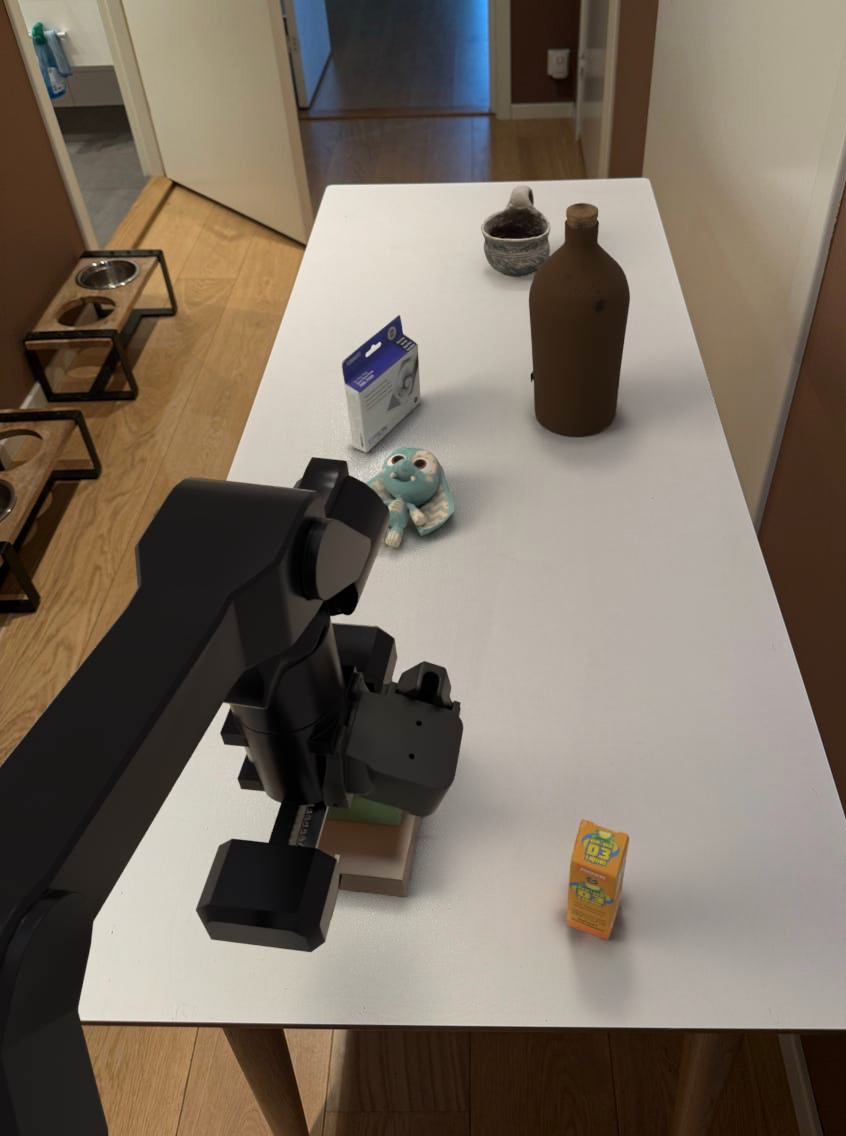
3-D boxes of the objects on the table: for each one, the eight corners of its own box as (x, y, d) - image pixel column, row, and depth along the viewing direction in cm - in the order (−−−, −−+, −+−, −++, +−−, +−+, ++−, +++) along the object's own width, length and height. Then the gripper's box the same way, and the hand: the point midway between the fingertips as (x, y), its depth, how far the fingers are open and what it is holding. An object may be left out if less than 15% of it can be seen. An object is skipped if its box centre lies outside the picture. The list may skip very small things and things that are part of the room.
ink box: (368, 455, 107) (355, 369, 99) (351, 449, 108) (337, 363, 100) (424, 401, 114) (416, 317, 106) (408, 396, 115) (399, 312, 107)
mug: (481, 287, 134) (478, 219, 127) (484, 244, 143) (482, 180, 136) (550, 286, 133) (551, 218, 126) (549, 243, 142) (550, 178, 136)
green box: (294, 815, 71) (280, 769, 67) (308, 768, 74) (295, 721, 70) (400, 826, 70) (392, 779, 66) (410, 778, 73) (402, 730, 69)
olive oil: (638, 407, 111) (657, 203, 95) (586, 453, 105) (596, 244, 89) (564, 376, 117) (570, 178, 100) (510, 418, 111) (506, 215, 94)
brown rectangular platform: (420, 900, 69) (417, 882, 67) (257, 881, 70) (250, 863, 68) (447, 754, 78) (445, 735, 76) (302, 739, 79) (297, 720, 77)
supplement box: (562, 929, 67) (565, 858, 60) (577, 884, 69) (582, 811, 62) (608, 946, 66) (617, 876, 59) (622, 900, 68) (632, 828, 61)
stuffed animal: (324, 508, 92) (368, 418, 99) (340, 550, 98) (380, 462, 105) (429, 529, 89) (467, 434, 96) (438, 571, 95) (474, 479, 102)
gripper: (408, 884, 40) (434, 1025, 50) (472, 564, 54) (482, 726, 64) (155, 854, 41) (232, 997, 52) (281, 550, 55) (321, 711, 65)
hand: (330, 843), depth 58 cm, fingers open, 9 cm apart
